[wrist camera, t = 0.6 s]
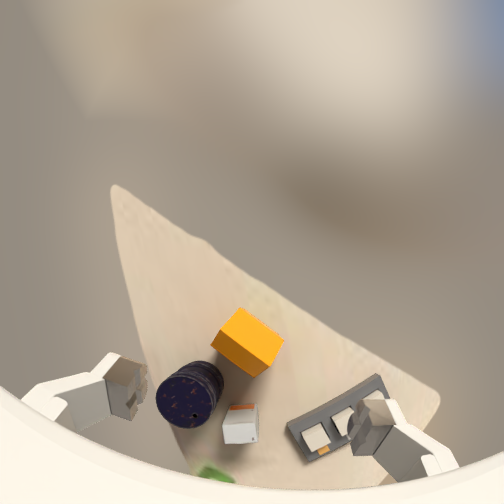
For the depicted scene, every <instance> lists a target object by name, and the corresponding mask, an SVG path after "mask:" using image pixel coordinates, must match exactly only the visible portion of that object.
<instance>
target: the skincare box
mask: <svg viewBox="0 0 504 504" xmlns="http://www.w3.org/2000/svg"><path fill="white" fill-rule="evenodd" d="M222 430H223V437H224V443H225V444H244V443H256V442H258V435H259V415H258V407H257V403H255V404H245V405H230V406H229V408H228V411H227V414H226V416H225V419H224V421H223V424H222Z"/></svg>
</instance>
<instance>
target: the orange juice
mask: <svg viewBox="0 0 504 504" xmlns="http://www.w3.org/2000/svg"><path fill="white" fill-rule="evenodd" d="M283 342H284V340H283V339H282V338H281V337H280V336H279V335H278V334H277V333H276V332H275V331H273V330H272V329H271V328H269V327H268V326H267V325H265V324H264V323H263V322H261V321H260V320H259V319H257V318H256V317H255V316H253V315H252V314H251V313H249V312H248V311H247V310H245V309H243V308H239V309H238V310H237V312H236V313H235V314H234V315H233V316H232V317H231V318H230V319H229V320H228V321H227V322H226V323H225V325H224V326H223V327H222V328H221V329H220V331H219V332H218V334H217V336H216V337H215V339H214V341H213V342H212V343H211V346H212V347H213V348H214V349H216V350H217V351H218V352H220V353H221V354H222V355H224V356H225V357H226V358H227V359H229V360H230V361H231V362H233V363H234V364H235V365H237V366H238V367H240V368H241V369H242V370H244V371H245V372H246V373H248V374H249V375H251V376H252V377H253V378H255V377H256V376H257V375H259V374H260V373H262V372H263V371H264V370H266V369H267V368H268V367H270V366H271V364H272V362H273V360H274V359H275V357H276V355H277V353H278V351H279V349H280V347H281V345H282V344H283Z"/></svg>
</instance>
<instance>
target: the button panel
mask: <svg viewBox="0 0 504 504" xmlns="http://www.w3.org/2000/svg"><path fill="white" fill-rule="evenodd" d="M375 390H379V391H380V392H382V394H383V396H384V398H385V399H390V397H389V395H388V392H387V390H386V388H385V386H384V383H383V381H382V379H381V377H380V375H378V374H376V373H375V374H374V375H372V376H371V377H369V378H368V379H366V380H364V381H363V382H361V383H360V384H358V385H356V386H355V387H353V388H351V389H350V390H348V391H346V392H345V393H343V394H341V395H339V396H338V397H336V398H334V399H332V400H330V401H329V402H327V403H325V404H323V405H321V406H319V407H318V408H316V409H314V410H312V411H310V412H308V413H306V414H304V415H302V416H300V417H298V418H296V419H294V420H291V421H289V422H287V424H288V428H289V429H290V431H291V433H292V434H293V436H294V438H295V439H296V441H297V443H298V444H299V446H300V448H301V449H302V451H303V453H304V454H305V456H306V458H307V459H308V461H309V462H310V461H312V460H314V459H317V458H319V457H321V456H323V455H325V454H327V453H329V452H331V451H333V450H335V449H337V448H338V447H340V446H342V445H344V444H346V443H348V442H349V441H351V440H352V439H351V438H350V437H349V436H348V434H346V435H344V436H342V435H341V434H340V433H339V431H338V429H336V428H335V426H334V424H333V423H332V421H331V419H330V417H331V416H333V415H335V414H336V413H338V412H340V411H342V410H344V409H345V408H347V407H350V408H351V409H352V410H353V411H354V412H355V411H356V408H355V406H356V404H357V402H358V401H359V400H360V399H362V398H364V397H365V396H367V395H368V394H370V393H372V392H373V391H375ZM320 422H321V423H322V424H323V426H324V428H325V430H326V432H327V436H328V438H329V440H330V442H331V443H329V444H327V445H325V446H323V447H321V448H319V449H317V450H315V451H313V452H311V450H310V448H309V447H308V445H307V443H306V441H305V440H304V438H303V436H302V434H301V432H302V431H304V430H306V429H308V428H310V427H312V426H314V425H316V424H318V423H320Z"/></svg>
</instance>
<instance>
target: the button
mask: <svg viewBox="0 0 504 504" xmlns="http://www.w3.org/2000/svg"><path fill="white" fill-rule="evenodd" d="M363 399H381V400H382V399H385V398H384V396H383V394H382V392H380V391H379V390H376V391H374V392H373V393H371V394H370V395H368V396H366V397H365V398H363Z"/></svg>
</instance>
